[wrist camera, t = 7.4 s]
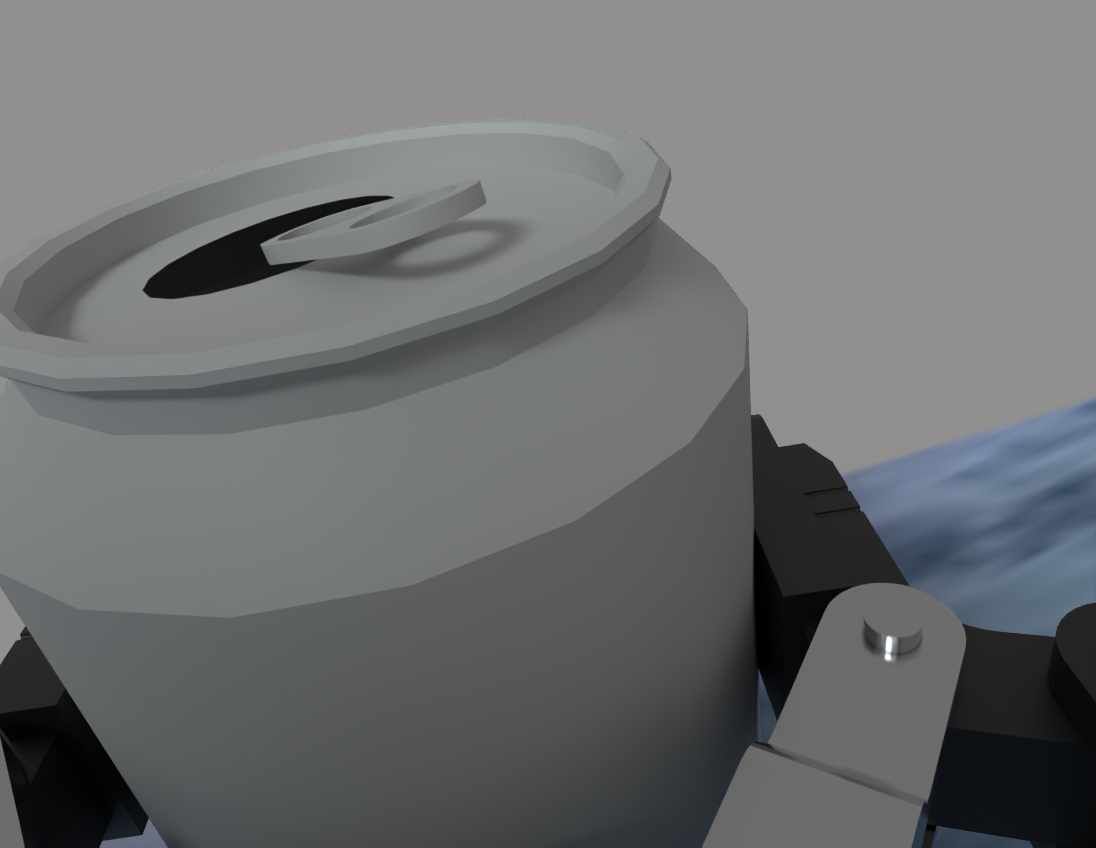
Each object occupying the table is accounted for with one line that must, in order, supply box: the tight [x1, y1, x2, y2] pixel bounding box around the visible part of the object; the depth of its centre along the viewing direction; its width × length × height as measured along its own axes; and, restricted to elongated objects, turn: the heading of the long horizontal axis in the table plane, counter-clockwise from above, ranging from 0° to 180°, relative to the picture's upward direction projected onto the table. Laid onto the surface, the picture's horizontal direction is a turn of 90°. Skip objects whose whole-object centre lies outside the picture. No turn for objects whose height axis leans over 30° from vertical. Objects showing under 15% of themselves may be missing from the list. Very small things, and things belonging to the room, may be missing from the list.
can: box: [0, 117, 761, 848], centre depth 11 cm, size 8×8×12 cm
